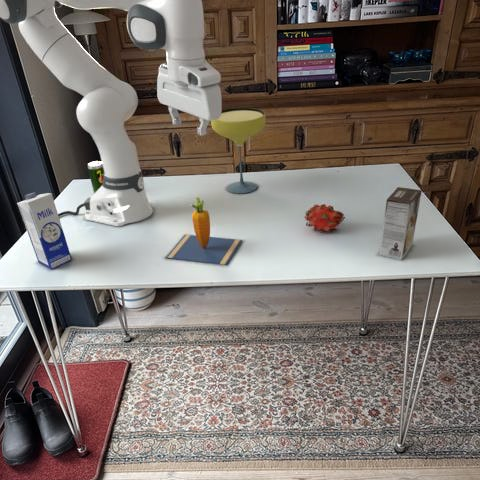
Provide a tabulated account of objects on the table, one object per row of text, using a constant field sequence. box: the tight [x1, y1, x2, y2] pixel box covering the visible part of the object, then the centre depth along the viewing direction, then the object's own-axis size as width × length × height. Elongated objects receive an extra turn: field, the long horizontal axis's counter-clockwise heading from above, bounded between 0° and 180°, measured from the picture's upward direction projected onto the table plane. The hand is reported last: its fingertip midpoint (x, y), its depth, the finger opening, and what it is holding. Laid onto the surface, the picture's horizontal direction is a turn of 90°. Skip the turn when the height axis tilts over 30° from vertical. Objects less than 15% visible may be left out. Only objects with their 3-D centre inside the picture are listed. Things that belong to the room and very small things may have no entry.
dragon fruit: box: [304, 203, 346, 234], centre depth 140 cm, size 8×8×12 cm
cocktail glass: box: [210, 107, 267, 195], centre depth 164 cm, size 18×18×25 cm
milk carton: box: [16, 192, 73, 270], centre depth 130 cm, size 7×7×20 cm
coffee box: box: [379, 186, 423, 261], centre depth 125 cm, size 9×6×16 cm
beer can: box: [87, 160, 105, 194], centre depth 169 cm, size 5×5×12 cm
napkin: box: [165, 234, 243, 266], centre depth 136 cm, size 18×14×1 cm
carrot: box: [190, 196, 211, 249], centre depth 131 cm, size 5×5×15 cm
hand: (189, 129), depth 121 cm, fingers open, 8 cm apart
